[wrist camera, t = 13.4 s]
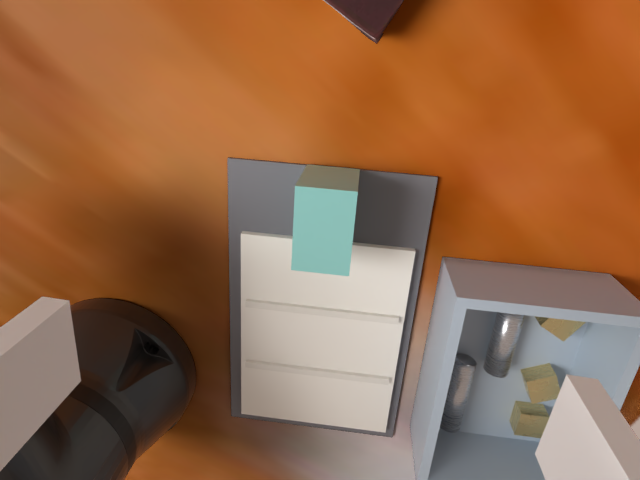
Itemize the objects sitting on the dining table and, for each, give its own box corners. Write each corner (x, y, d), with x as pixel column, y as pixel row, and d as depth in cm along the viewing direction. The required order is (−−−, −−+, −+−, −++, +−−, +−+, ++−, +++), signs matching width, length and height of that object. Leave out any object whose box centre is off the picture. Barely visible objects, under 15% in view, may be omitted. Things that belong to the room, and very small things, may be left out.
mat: (232, 414, 45) (231, 416, 44) (228, 157, 34) (227, 158, 34) (392, 434, 44) (392, 437, 43) (437, 176, 33) (437, 177, 33)
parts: (436, 414, 41) (439, 431, 39) (465, 284, 36) (470, 296, 34) (539, 427, 40) (547, 445, 39) (584, 297, 35) (596, 310, 33)
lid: (242, 409, 44) (224, 460, 38) (242, 158, 34) (218, 178, 29) (385, 427, 43) (387, 482, 37) (426, 175, 33) (438, 199, 28)
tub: (409, 425, 43) (416, 485, 37) (442, 256, 36) (456, 297, 30) (548, 443, 42) (578, 507, 36) (610, 273, 35) (659, 319, 29)
